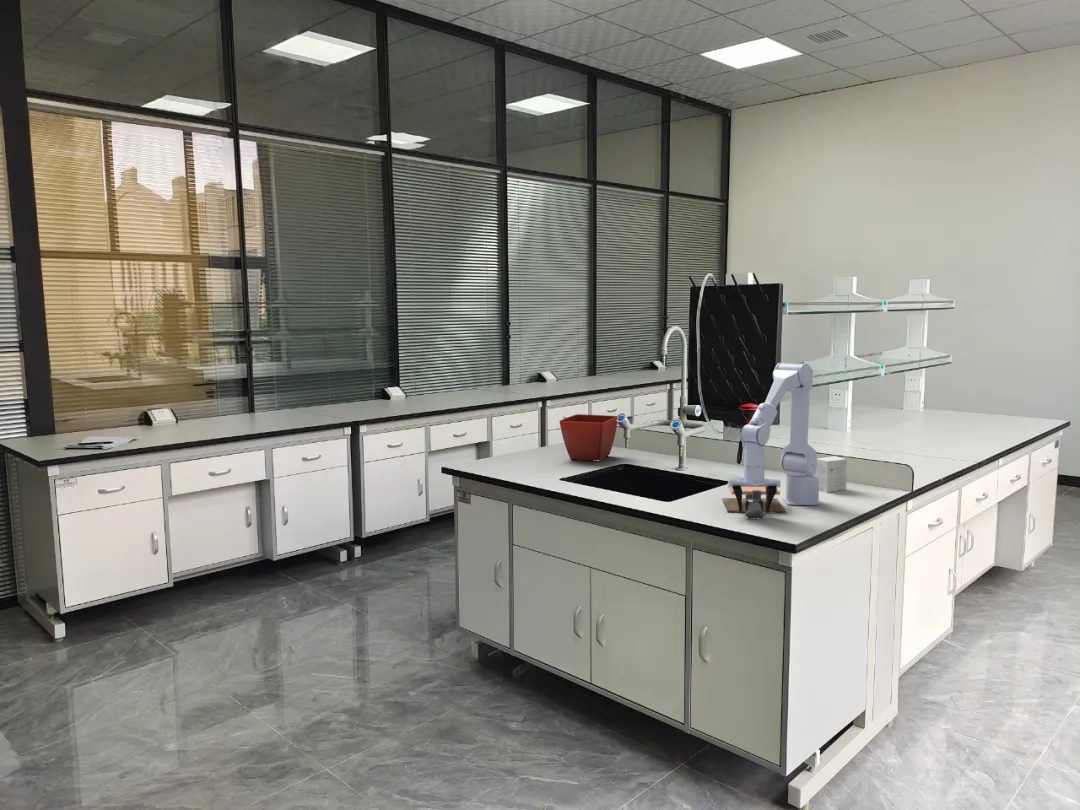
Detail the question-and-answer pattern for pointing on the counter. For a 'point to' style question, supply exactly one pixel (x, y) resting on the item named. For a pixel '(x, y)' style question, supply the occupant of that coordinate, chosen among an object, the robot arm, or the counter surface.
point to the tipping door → (749, 490)
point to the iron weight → (754, 508)
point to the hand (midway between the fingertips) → (753, 510)
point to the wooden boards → (732, 503)
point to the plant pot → (588, 435)
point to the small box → (831, 473)
